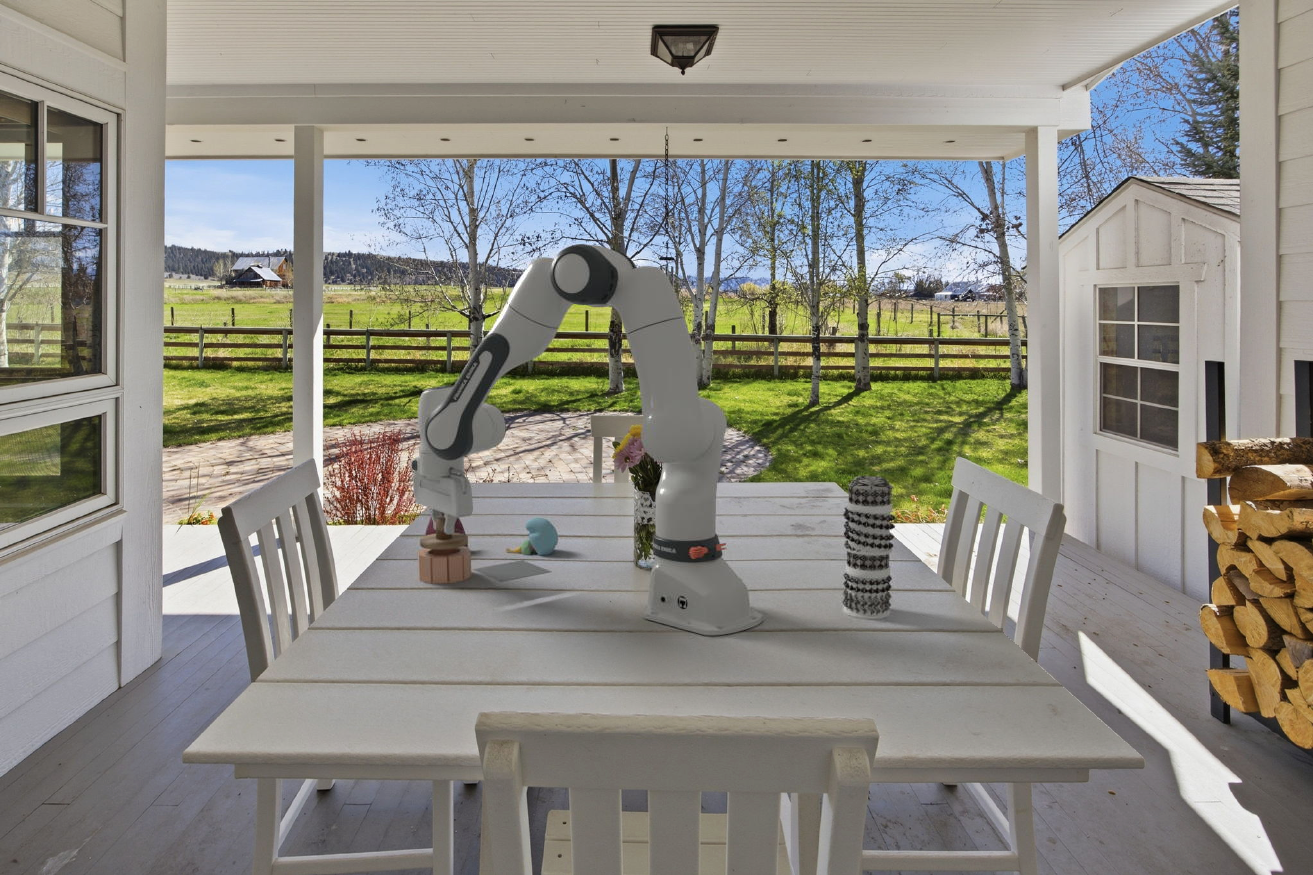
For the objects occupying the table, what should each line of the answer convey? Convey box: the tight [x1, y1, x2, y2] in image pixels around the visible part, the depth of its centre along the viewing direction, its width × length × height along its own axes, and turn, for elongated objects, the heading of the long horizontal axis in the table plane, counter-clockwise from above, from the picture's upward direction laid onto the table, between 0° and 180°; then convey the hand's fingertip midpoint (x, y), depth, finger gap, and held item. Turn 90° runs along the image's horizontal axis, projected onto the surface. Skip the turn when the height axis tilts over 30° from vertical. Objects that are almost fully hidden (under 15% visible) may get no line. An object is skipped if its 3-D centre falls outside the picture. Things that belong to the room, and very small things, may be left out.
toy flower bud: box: [505, 517, 559, 556], centre depth 204 cm, size 7×9×12 cm
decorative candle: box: [842, 475, 896, 620], centre depth 162 cm, size 9×9×25 cm
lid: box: [419, 517, 469, 549], centre depth 183 cm, size 10×10×5 cm
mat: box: [473, 560, 552, 583], centre depth 189 cm, size 12×12×1 cm
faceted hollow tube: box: [417, 546, 472, 584], centre depth 184 cm, size 10×11×6 cm
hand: (443, 531), depth 183 cm, fingers closed on lid, 3 cm apart
